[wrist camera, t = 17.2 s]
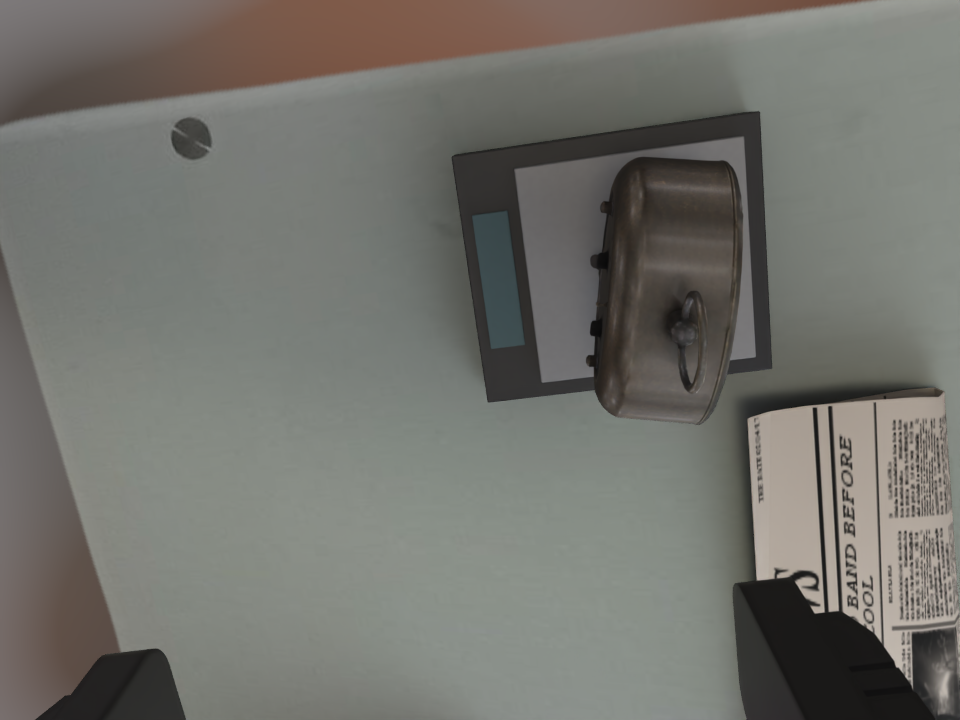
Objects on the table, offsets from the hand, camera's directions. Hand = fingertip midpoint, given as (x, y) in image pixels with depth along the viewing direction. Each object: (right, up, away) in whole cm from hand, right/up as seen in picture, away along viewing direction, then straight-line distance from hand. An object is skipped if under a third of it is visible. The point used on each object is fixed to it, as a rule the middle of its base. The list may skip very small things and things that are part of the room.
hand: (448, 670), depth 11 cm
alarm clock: (+8, +9, +29) cm, 32 cm away
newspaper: (+23, -13, +39) cm, 47 cm away
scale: (+7, +10, +32) cm, 35 cm away
